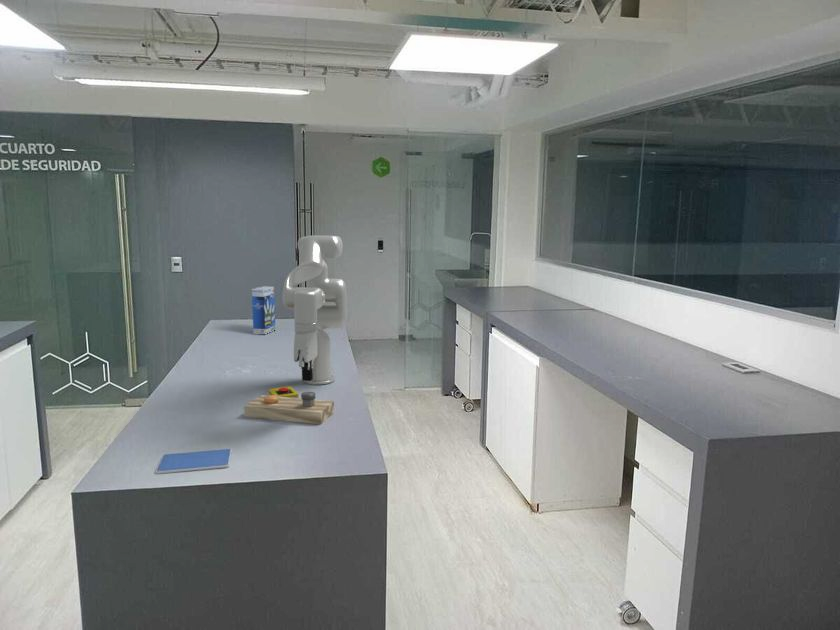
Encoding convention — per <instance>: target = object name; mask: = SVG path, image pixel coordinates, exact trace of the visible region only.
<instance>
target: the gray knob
mask: <svg viewBox="0 0 840 630" xmlns="http://www.w3.org/2000/svg"><path fill="white" fill-rule="evenodd" d="M300 397H301V398H300V399H302V400H303V407H312V406H314V400H316V392H314V391H305V392H301V394H300Z"/></svg>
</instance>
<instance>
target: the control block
mask: <svg viewBox="0 0 840 630" xmlns="http://www.w3.org/2000/svg"><path fill="white" fill-rule="evenodd" d="M265 396H266V395H263V394H261V395H259V396H258V397H256V398H254V399H253V400H251V401H249V402H248V403H246V404H245V405H244V406H243V407H244V418H245V417H246V418H253V419H262V420H263V419H264V420H275V421H287V422H294V423H295V422H298V423H306V424H307V423H309V424H318V425H322V424H323V423H324V422H326V420H328V419H329V417H331V416H333V415H334V413H335V401H334V400H323V399H314V406H312V407H303V400H302V399H301V398H300V397H299V398H288V397H278V402H276V403H274V404H269V403H265V402H264V397H265Z"/></svg>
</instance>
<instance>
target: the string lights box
mask: <svg viewBox="0 0 840 630" xmlns="http://www.w3.org/2000/svg"><path fill="white" fill-rule="evenodd" d="M251 300H252V301H251V303H252V304H251V305H252V327H253V328H252V331H253V335H258V334H266V335H268V334H270V333H269V332H271V333H273V332H275V331H274V330H276V309H275V308H276V307H275V286H265V285H263V286H259V287H254V288H251ZM272 331H273V332H272ZM267 333H268V334H267Z"/></svg>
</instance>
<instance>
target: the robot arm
mask: <svg viewBox="0 0 840 630" xmlns="http://www.w3.org/2000/svg"><path fill="white" fill-rule="evenodd" d="M297 249H298V252H299V261H298V266H296V267H295V268H293V269H292V270H291V271H290V272H289V273H288V275H286V277H285V279H284V282H283V288H282V304H283V306H284V308H286V309H287V310H293V313H294V315H293V317H294V340H293V361H294V362H296V363H297V362H298V367H299V368H300V369H301V380H302V381H303V382H304V383H305V384H308V385H315V386H316V385H318V386H319V385H327V384H331V383H333V382H334V381H335V376H334V375H332V374H331V373H332V370H333V367H332V366H331V363H332V362H331V339H330V336H329V335H328V333H327V332H326V331H325V330H326V329H327V330H328V329H329V330H330V329H337V330H338V329H343V328H345V327H346V326H347V324H348V294H347V293H348V292H347V283H346V282H345V280H343V279H342V278H329V273H328V272H329V271H328V268H329V266H328V265H327V263H326V261H325V260H324V259H339V258H340V257H341V256H342V254H343V249H344V245H343V241H342V238H341V237H340V236H337V235H306V236H302V237H300V238H299V239H298V241H297ZM304 282H306V287H301V286H299V287H297V286H298V285H299V284H302V283H304ZM325 303H334V304H333V305H331V304H330V305H329V304H328V305H327V304H326V305H325Z"/></svg>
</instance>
